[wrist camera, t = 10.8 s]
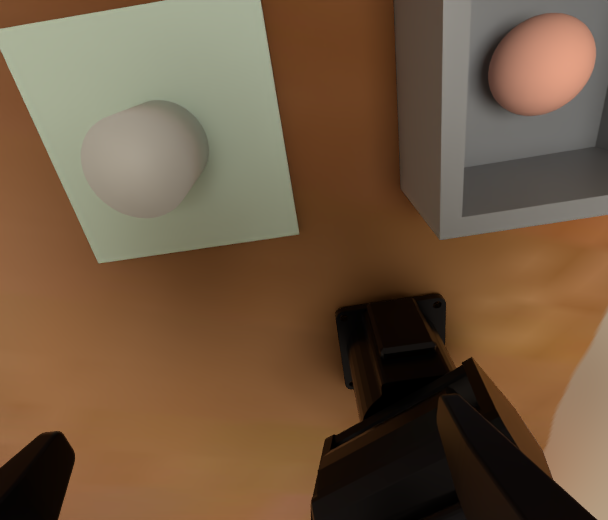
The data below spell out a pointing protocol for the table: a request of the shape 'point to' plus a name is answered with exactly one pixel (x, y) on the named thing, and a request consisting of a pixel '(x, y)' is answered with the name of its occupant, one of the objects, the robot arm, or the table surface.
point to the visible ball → (542, 64)
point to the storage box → (493, 122)
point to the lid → (160, 123)
